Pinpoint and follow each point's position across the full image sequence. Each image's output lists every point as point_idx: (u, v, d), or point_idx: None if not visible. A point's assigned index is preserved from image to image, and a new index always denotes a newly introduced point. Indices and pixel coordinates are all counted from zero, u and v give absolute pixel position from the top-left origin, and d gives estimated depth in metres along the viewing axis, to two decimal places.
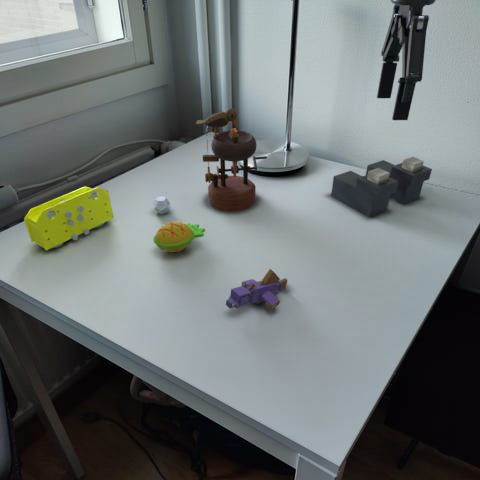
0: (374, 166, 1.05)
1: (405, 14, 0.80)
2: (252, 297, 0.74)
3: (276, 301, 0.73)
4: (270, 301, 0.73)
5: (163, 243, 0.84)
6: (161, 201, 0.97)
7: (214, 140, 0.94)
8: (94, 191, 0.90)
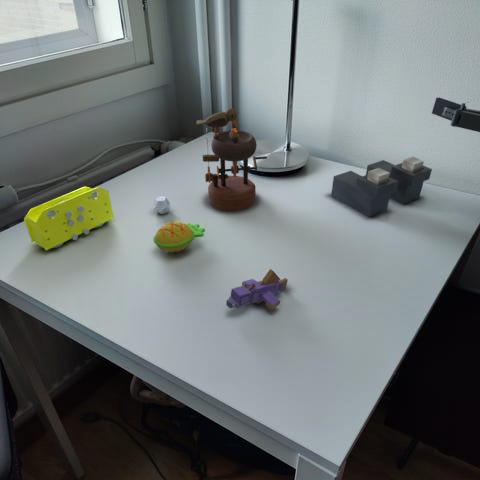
0: (374, 166, 1.05)
1: None
2: (252, 297, 0.74)
3: (276, 301, 0.73)
4: (270, 301, 0.73)
5: (163, 243, 0.84)
6: (161, 201, 0.97)
7: (214, 140, 0.94)
8: (94, 191, 0.90)
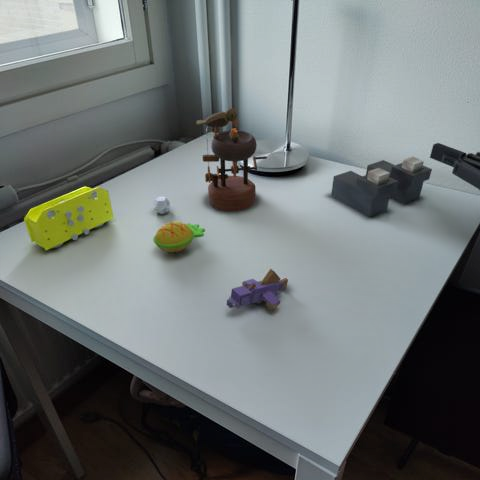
0: (374, 166, 1.05)
1: None
2: (253, 297, 0.74)
3: (277, 301, 0.74)
4: (271, 301, 0.73)
5: (163, 243, 0.84)
6: (161, 201, 0.97)
7: (214, 140, 0.94)
8: (94, 191, 0.90)
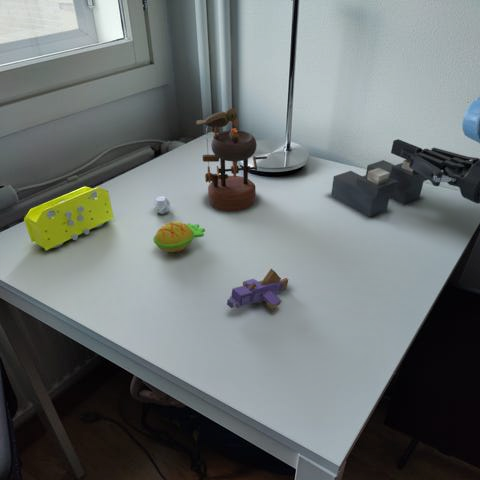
0: (374, 166, 1.05)
1: None
2: (253, 297, 0.74)
3: (277, 301, 0.74)
4: (271, 301, 0.73)
5: (163, 243, 0.84)
6: (161, 201, 0.97)
7: (214, 140, 0.94)
8: (94, 191, 0.90)
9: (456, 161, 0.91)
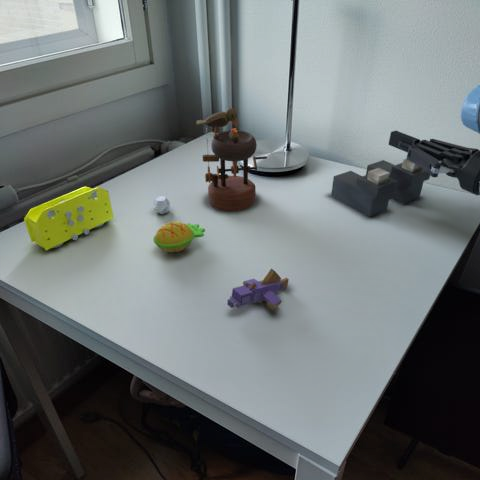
0: (374, 166, 1.05)
1: None
2: (253, 297, 0.74)
3: (277, 301, 0.74)
4: (271, 301, 0.73)
5: (163, 243, 0.84)
6: (161, 201, 0.97)
7: (214, 140, 0.94)
8: (94, 191, 0.90)
9: (455, 152, 0.89)
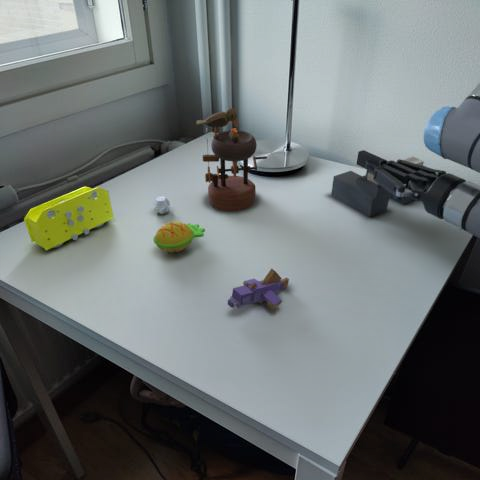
0: None
1: None
2: (254, 296, 0.74)
3: (278, 300, 0.74)
4: (272, 300, 0.73)
5: (163, 243, 0.84)
6: (161, 201, 0.97)
7: (214, 140, 0.94)
8: (94, 191, 0.90)
9: (420, 174, 0.86)
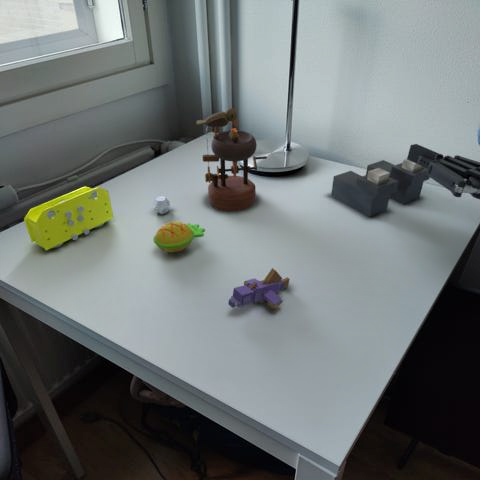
0: (374, 166, 1.05)
1: None
2: (254, 296, 0.74)
3: (278, 300, 0.74)
4: (272, 300, 0.73)
5: (163, 243, 0.84)
6: (161, 201, 0.97)
7: (214, 140, 0.94)
8: (94, 191, 0.90)
9: None
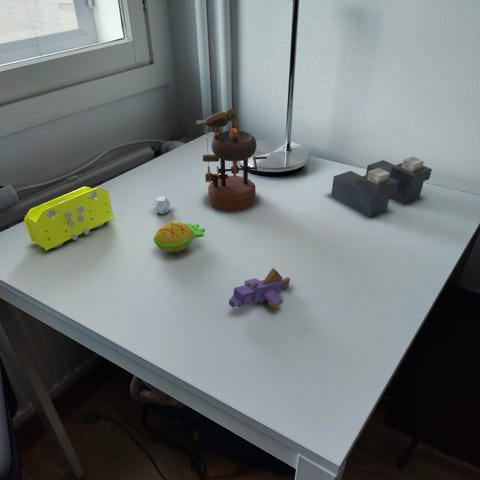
0: (374, 166, 1.05)
1: None
2: (255, 296, 0.74)
3: (279, 300, 0.74)
4: (273, 300, 0.73)
5: (163, 243, 0.84)
6: (161, 201, 0.97)
7: (214, 140, 0.94)
8: (94, 191, 0.90)
9: None
